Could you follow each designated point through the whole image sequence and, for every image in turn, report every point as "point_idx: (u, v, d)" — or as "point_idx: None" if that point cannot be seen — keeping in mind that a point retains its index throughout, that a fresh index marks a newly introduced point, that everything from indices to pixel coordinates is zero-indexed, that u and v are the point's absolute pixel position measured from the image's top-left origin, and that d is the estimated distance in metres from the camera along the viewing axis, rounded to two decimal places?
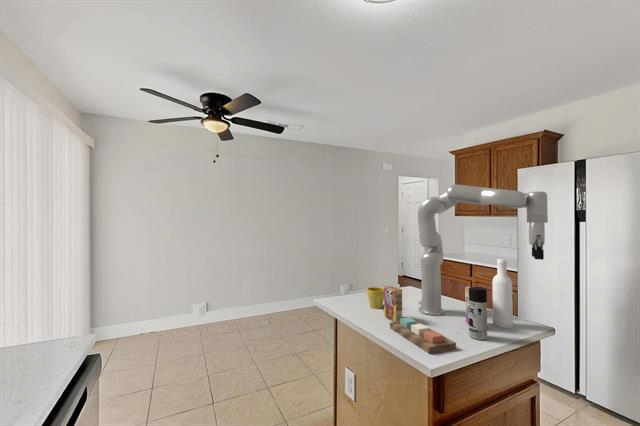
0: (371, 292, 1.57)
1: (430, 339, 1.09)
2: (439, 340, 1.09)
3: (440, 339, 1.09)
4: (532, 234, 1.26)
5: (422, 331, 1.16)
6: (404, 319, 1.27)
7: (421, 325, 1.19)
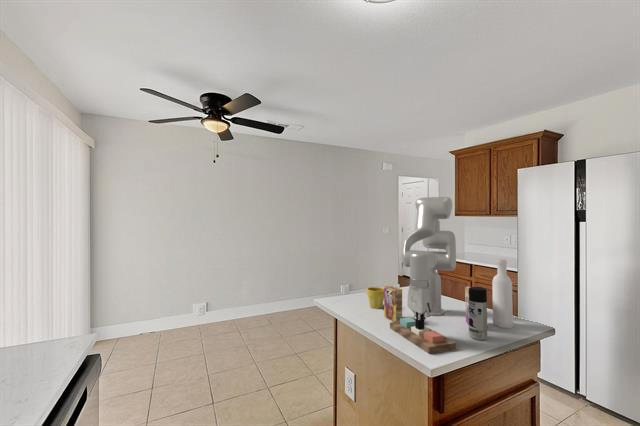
0: (371, 292, 1.57)
1: (430, 339, 1.09)
2: (439, 340, 1.09)
3: (440, 339, 1.09)
4: (423, 302, 1.13)
5: (422, 333, 1.16)
6: (404, 319, 1.27)
7: None
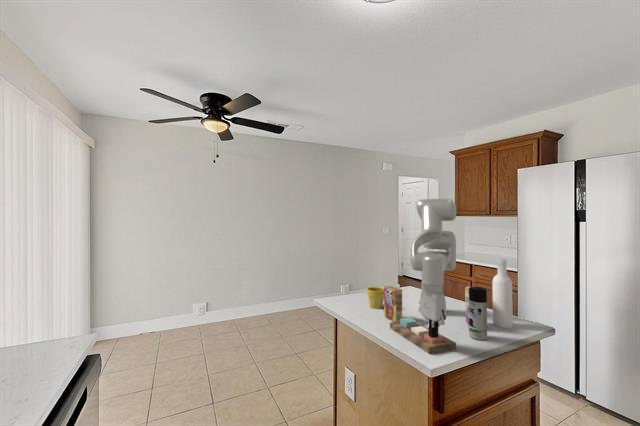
0: (371, 292, 1.57)
1: (430, 342, 1.09)
2: None
3: (440, 342, 1.09)
4: (437, 309, 1.06)
5: (422, 334, 1.16)
6: (404, 319, 1.27)
7: (421, 328, 1.19)
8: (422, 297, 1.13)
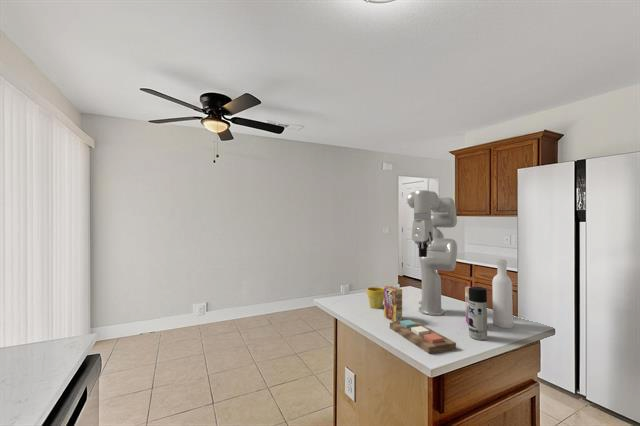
0: (371, 292, 1.57)
1: (430, 342, 1.09)
2: None
3: (440, 342, 1.09)
4: (425, 231, 1.29)
5: (422, 334, 1.16)
6: (404, 321, 1.27)
7: (421, 328, 1.19)
8: (413, 225, 1.36)
